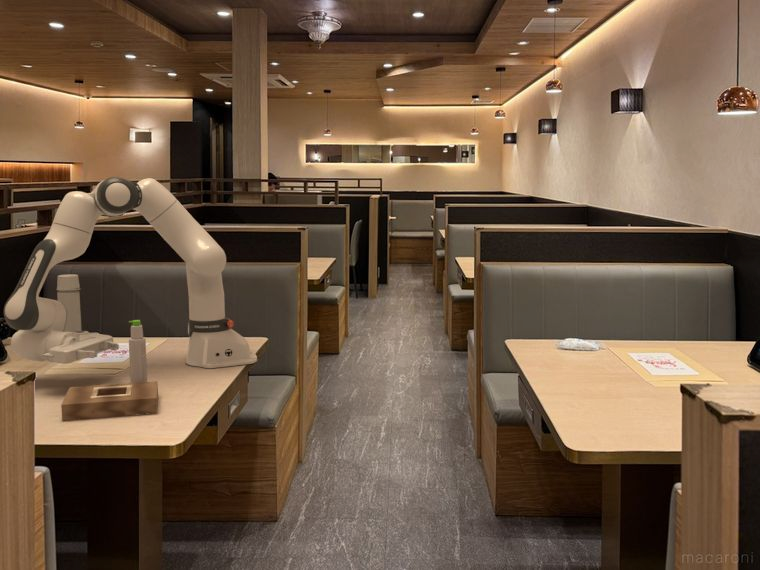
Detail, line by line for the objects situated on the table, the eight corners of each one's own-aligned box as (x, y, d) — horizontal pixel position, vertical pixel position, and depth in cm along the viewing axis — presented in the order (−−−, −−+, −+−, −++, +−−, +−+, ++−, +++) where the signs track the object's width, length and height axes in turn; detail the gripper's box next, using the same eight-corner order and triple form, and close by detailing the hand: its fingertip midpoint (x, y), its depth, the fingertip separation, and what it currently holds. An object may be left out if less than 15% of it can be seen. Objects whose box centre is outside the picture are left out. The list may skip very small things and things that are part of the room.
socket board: (158, 395, 200) (157, 380, 199) (156, 413, 184) (156, 396, 184) (70, 401, 194) (69, 386, 193) (62, 420, 178) (61, 403, 178)
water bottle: (78, 348, 255) (74, 277, 251) (55, 348, 255) (51, 276, 251) (89, 342, 264) (85, 273, 260) (67, 342, 264) (63, 273, 260)
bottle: (133, 389, 205) (130, 319, 202) (149, 389, 205) (146, 319, 202) (129, 394, 201) (125, 322, 198) (145, 394, 201) (142, 322, 198)
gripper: (37, 344, 198) (81, 347, 194) (87, 329, 217) (128, 332, 213) (39, 367, 199) (82, 370, 195) (88, 350, 218) (129, 353, 214)
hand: (106, 350), depth 204 cm, fingers open, 8 cm apart
